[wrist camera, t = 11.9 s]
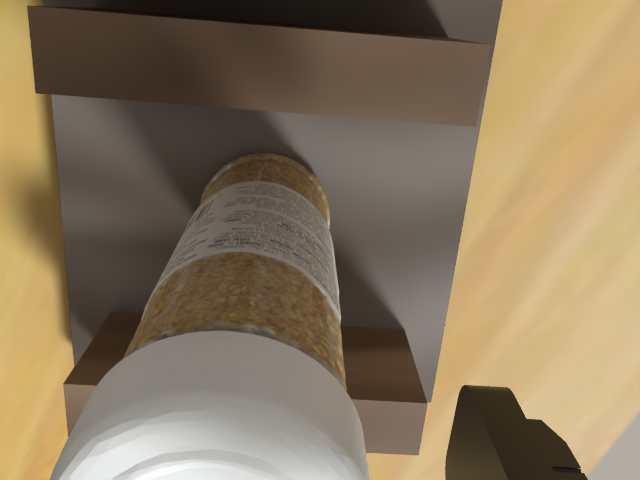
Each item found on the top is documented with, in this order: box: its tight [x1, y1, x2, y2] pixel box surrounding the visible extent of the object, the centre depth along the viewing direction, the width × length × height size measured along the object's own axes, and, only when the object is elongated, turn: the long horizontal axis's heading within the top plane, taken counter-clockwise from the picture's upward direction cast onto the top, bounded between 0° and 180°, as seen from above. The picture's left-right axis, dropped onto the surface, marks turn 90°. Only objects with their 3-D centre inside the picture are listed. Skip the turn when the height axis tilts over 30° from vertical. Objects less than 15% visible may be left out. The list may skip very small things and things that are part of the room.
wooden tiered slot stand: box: [27, 0, 503, 455], centre depth 16 cm, size 17×14×12 cm
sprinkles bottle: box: [50, 153, 369, 480], centre depth 14 cm, size 5×5×14 cm
